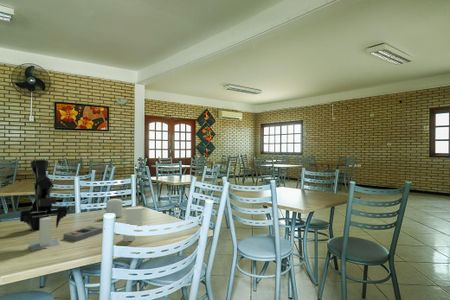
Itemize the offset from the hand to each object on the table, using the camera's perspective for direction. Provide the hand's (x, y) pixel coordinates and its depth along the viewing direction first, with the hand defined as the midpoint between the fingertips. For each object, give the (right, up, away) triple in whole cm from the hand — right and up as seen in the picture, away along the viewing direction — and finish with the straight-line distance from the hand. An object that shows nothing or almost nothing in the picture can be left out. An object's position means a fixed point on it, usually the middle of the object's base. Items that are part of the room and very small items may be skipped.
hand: (45, 228), depth 127 cm
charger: (-1, -7, +1) cm, 8 cm away
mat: (-1, -8, +1) cm, 8 cm away
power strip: (+10, -8, +15) cm, 20 cm away
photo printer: (+9, -9, +57) cm, 59 cm away
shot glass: (+35, -9, +11) cm, 38 cm away
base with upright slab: (+31, -9, +31) cm, 45 cm away
